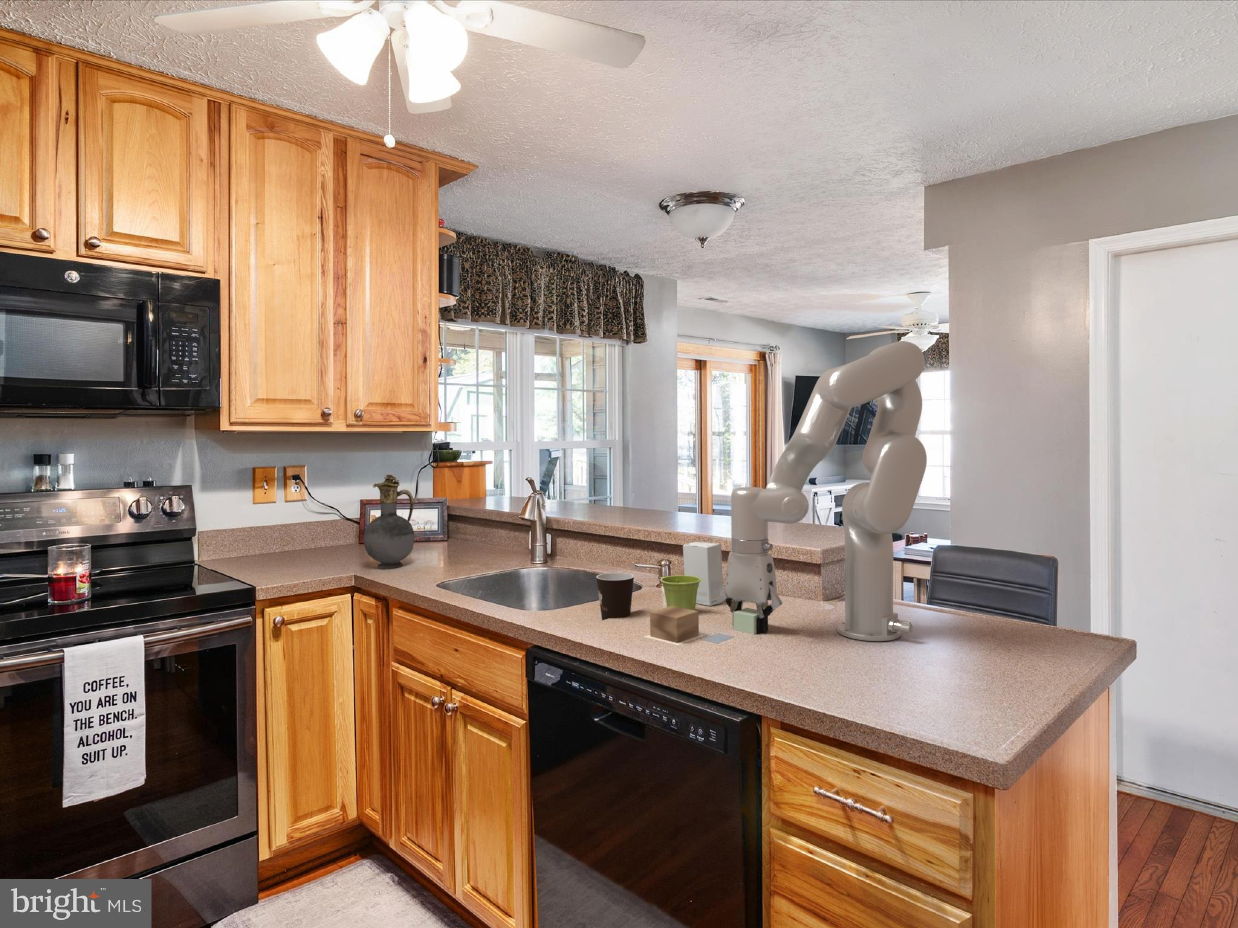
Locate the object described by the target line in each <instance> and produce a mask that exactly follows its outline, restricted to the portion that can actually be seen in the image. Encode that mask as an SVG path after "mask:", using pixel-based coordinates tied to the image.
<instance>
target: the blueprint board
mask: <svg viewBox="0 0 1238 928" xmlns="http://www.w3.org/2000/svg"><path fill="white" fill-rule="evenodd" d="M705 636H706V634H702V633H699V636H696V637H693V638H690V639H687V640H685V641H682V642H679V643H675V642H671V641H666V640H662V639H658V638H654V637H650V634H648V635H644V636H643V638H646V639H651V640H653V641H659V642H662V643H666V644H670V645H675V646H680V645H683V644H686V643H688V642H689V643H690V642H692V641H694V640H697V639H699V638H701V639H700V641H706V642H709V643H714V644H719V643H722V642H725V641H727V640H730V639H733V638H735V636H733V635H728V634H724V633H721V632H720V633H719V632H717V633H715V634H712V635H710V636H706V637H705ZM703 637H704V638H703Z"/></svg>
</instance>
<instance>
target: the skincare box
mask: <svg viewBox="0 0 1238 928" xmlns="http://www.w3.org/2000/svg"><path fill="white" fill-rule="evenodd" d="M682 552H683V554H682V555H683V571H684V573H683V574H684V575H688V576H695V577H699V578H700V579H701V581H700V582H699V587H698V589H697V597H696V605H697V604H698V605H703V606H709V607H711V606H715V605H718V604H719V605H720V604H722V603H724V601H725V600H724V599H723V598H722V597H721V596H720V592H721V590H722V589H723V587H724V575H723V574H724V573H723V559H722V558H723V557H722V543H717V542H715V543H714V542H706V541H705V542H703V541H694V542H690V543H685V544H683V545H682Z"/></svg>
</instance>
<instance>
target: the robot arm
mask: <svg viewBox="0 0 1238 928" xmlns="http://www.w3.org/2000/svg"><path fill="white" fill-rule="evenodd" d="M925 359H926V358H925V355H924V353H923V351H922V350H921V348H920V347H919V346H918V345H916V344H915V343H913V342H909V341H906V340H904V341H901V340H900V341H895V342H892V343H889V344H885V345H882V346H879V347H877V348H875V349H873V350H872V351H871V352H870V353H869V354H868V355H865V356H863V357H861V358H858V359H856V360H854V361H851V362H849V363H846V364H843V365H841V366H836V367H833V368H830V369H827V370H826V371H824V372H823V373H822V374H821V375H820V376H819V378H818V379H817V381H816V383H815V385H814V387H813V390H812V392H811V394H810V397H809V398H808V401H807V404H806V406H805V408H804V410H803V412H802V415H801V417H800V419H799V422H798V424H797V426H796V429H795V431H794V433H793V435H792V436H791V438H790V439H789V441H788V443H787V445H786V447H785V448H784V450H783V452H782V453H781V455H780V457H779V459H778V461H777V462H776V464H775V467H774V468H773V470H772V473H771V474H770V477H769V479H768V483H766V484H767V485H766V487H765V488H762V487H757V486H756V487H755V486H744V487H743V486H742V487H737V488H734V489H733V490H732V492H731V493H730V495H731V497H730V512H731V513H730V515H731V516H730V520H731V521H730V526H731V528H730V529H731V532H730V533H731V534H730V535H731V542H730V543H731V544H730V545H731V548H730V549H731V551H729V554H728V557H727V561H726V569H725V570H726V571H725V585H723V589H722V590H721V592H720V596H721V597H722V598H723V599H724V601H725V603H726V605H727V606H728V607H729V610H730V612H731V613H732V614H733V612H735V611H738V610H741V609H743V606H744V602H748V603H753V604H755V607H756V610H757V611H758V615H759V617H757V619H756V629H757V633H756V635H760V634H764V633H768V631H769V616H771V614H772V613H773V612H774V611H775V610H776V609H778V608H779V607H780V606H781V605H783V601H782V599H781V598H780V596H779V595H778V594H777V593H778V592H777V591H778V590H777V578H776V577H777V576H776V569H775V564H774V558H773V554H772V553H769V551H772V550H773V548H774V545H773V543H770V542H769V522H770V523H778V524H787V525H792V524H796V523H799V522H801V521H802V520H803V519H804V518H805V517H806V516H807V514H808V511H809V508H810V507H809V505H810V504H809V501H808V498H807V496H806V495H805V494H804V493H803V492H802V490H803V488H804V486H805V484H806V483H807V480H808V478H809V476H810V475H811V473H812V472H813V470H814V469H815V468H816V467H817V466H818V464H819V463H821V462H822V461H823V460H824V459H826V458H827V457H828V456H829V455H830V454H831V452H832V451H833V449H834V448H835V446H836V444H837V441H838V440H839V437H840V435H841V432H842V430H843V428H844V425H845V424H846V421H847V418H848V416H849V413H850V412H851V410H852V408H855V407H856V408H857V407H859V406H861V405H864V404H866V403H870V402H872V401H874V400H876V399H878V402H877V403H878V404H877V409H876V413H875V417H874V421H873V424H872V426H871V430H870V432H869V436H868V438H867V441H866V444H865V447H864V449H863V453H862V464H863V466H864V468H865V470H866V471H867V472H868V473H869V474H871V477H870V480H869V482H868V481H865V482H863V481H862V482H859V483H857V484H854V485H853V486H852V487H850V488H849V489H848V490H847V492H846V493H845V495H844V497H843V499H842V504H841V516H842V524H843V530H844V531H843V532H844V621H842V622H840V623H839V624H837V633H839V634H840V635H842V636H844V637H846V638H849V639H853V640H859V641H865V642H887V641H893V640H896V639H899V638H900V637H901V636H902V633H904V634H910V635H911V634H912V632H913V624H912V622H911V621H906V620H900V618H899V613H898V612H895V611H894V541H893V534H894V533H896V532H898V531H900V530H901V529H903V528H904V526H905V525H906V524H907V522H908V520H909V519H910V516H911V513H912V511H913V508H914V505H915V503H916V501H917V498H918V497H917V496H918V494H919V491H920V488H921V484H922V482H923V478H924V475H925V472H926V469H927V461H928V460H927V459H928V457H927V451H926V448H925V446H924V444H923V443H922V441H920V439H919V438H917V437H916V436H917V435H916V434H917V431H918V426H919V424H920V419H921V416H922V412H923V411H922V410H923V397H922V393H921V389H920V386H919V384H918V382H917V379H918V378H919V377H920V376H921V375H922V373H923V371H924V369H925V364H926V360H925ZM769 601H771V603H770V604H769Z"/></svg>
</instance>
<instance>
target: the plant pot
mask: <svg viewBox="0 0 1238 928" xmlns="http://www.w3.org/2000/svg"><path fill="white" fill-rule="evenodd" d="M700 581H701V579H700V578H699V577H695V576H688V575H683V574H682V575H679V574H678V575H677V574H676V575H669V576H663V577H661V578H660V583H662V587H663V591H664V597H665V603H666V608H667V607H670V606H675V607H680V608H685V609H690V610H695V611H696V606H697V603H696V597H697V589H698V587H699V582H700Z"/></svg>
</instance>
